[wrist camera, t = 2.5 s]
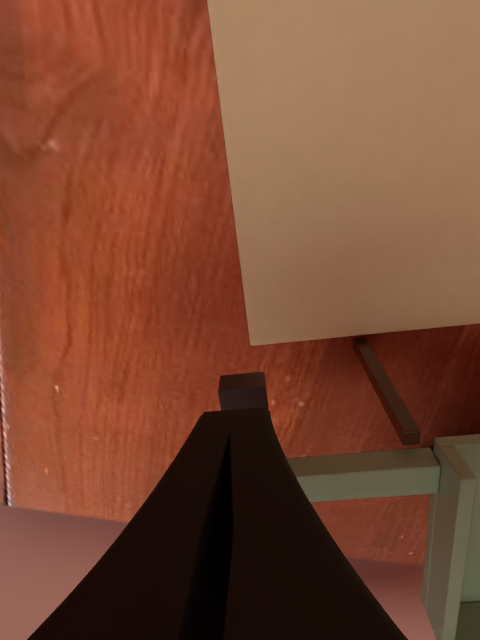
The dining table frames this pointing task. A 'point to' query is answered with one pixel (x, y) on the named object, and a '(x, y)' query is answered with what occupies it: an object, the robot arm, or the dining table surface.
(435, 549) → the tray
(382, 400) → the stand
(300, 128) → the mat
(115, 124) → the dining table surface
